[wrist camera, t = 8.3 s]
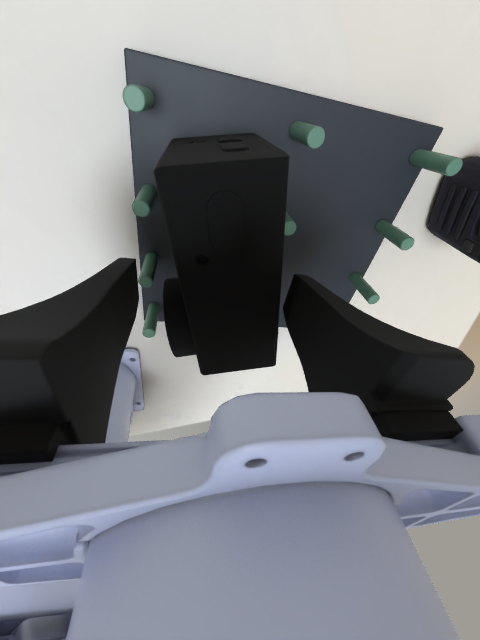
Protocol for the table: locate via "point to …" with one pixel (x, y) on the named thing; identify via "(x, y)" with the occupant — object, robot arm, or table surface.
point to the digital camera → (224, 248)
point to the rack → (303, 175)
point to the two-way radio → (460, 210)
